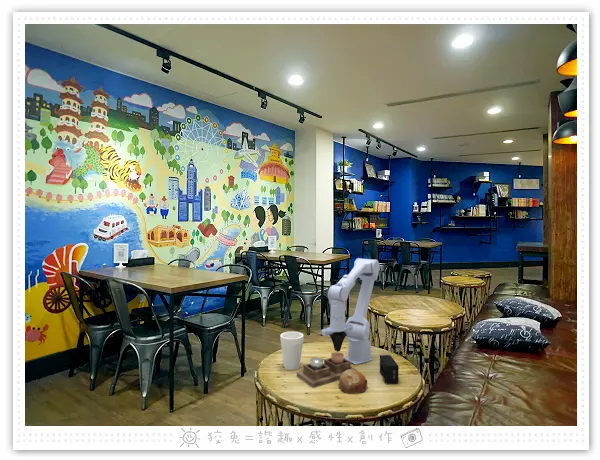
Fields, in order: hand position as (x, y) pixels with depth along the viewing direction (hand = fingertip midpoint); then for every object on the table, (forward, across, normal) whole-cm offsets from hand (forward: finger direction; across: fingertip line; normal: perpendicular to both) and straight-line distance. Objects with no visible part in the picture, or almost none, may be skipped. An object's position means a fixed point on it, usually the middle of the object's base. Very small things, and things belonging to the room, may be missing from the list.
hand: (337, 350), depth 139 cm
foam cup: (+9, +12, -14) cm, 21 cm away
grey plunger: (+5, +10, 0) cm, 11 cm away
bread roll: (+9, +3, +13) cm, 16 cm away
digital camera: (+9, -13, +14) cm, 21 cm away
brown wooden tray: (+9, +5, 0) cm, 10 cm away
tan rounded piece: (+5, 0, 0) cm, 5 cm away
